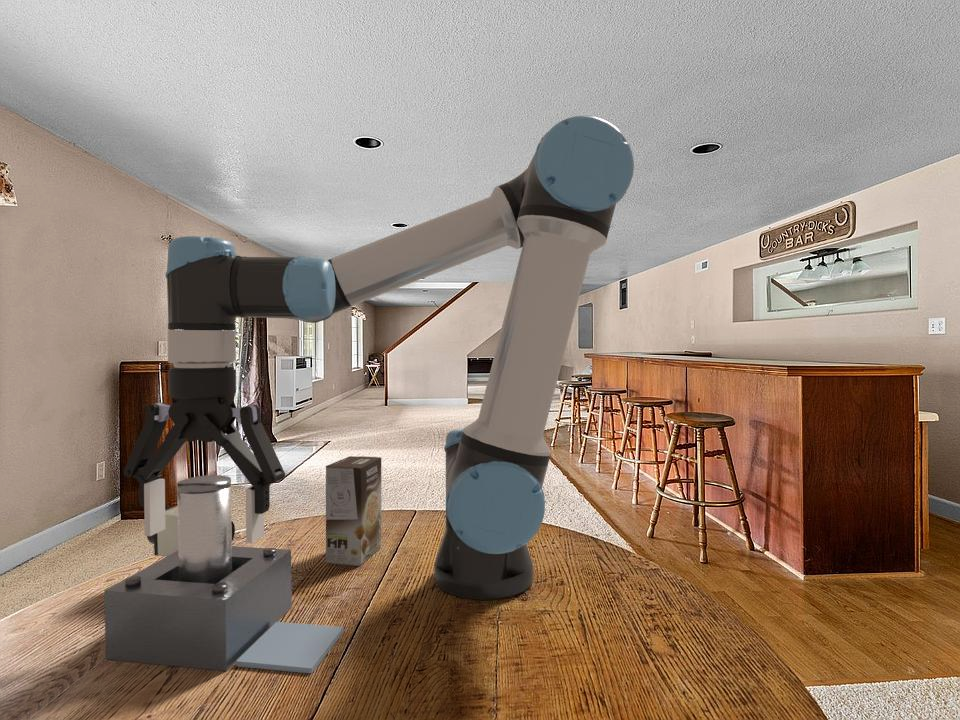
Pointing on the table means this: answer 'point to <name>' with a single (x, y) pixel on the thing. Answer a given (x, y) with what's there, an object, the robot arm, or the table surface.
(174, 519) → the pneumatic valve
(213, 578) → the metal cylinder
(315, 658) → the pad
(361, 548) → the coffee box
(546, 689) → the table surface
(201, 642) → the housing
